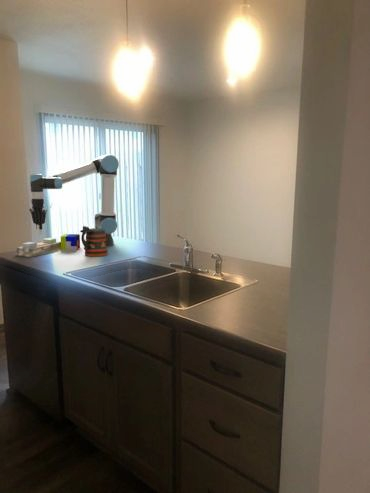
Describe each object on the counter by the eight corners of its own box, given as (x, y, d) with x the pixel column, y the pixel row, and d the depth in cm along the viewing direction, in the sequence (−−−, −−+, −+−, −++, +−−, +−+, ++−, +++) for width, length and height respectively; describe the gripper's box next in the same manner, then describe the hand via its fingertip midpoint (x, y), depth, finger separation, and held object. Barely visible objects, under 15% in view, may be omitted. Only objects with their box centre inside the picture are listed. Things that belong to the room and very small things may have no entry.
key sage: (56, 244, 262) (56, 238, 261) (50, 245, 257) (49, 239, 256) (49, 243, 264) (49, 237, 264) (43, 244, 259) (42, 239, 258)
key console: (61, 249, 263) (61, 242, 263) (31, 257, 238) (31, 249, 237) (48, 247, 268) (47, 240, 267) (17, 255, 243) (16, 247, 242)
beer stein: (92, 259, 235) (91, 227, 231) (75, 256, 242) (73, 225, 238) (112, 254, 251) (111, 224, 248) (95, 251, 258) (94, 222, 254)
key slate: (37, 248, 246) (36, 242, 245) (30, 250, 240) (29, 244, 240) (29, 248, 248) (29, 241, 247) (22, 249, 243) (22, 243, 242)
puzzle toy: (75, 251, 258) (75, 236, 256) (61, 250, 258) (60, 236, 256) (80, 248, 268) (79, 234, 266) (66, 248, 268) (65, 234, 266)
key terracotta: (47, 249, 254) (46, 243, 254) (40, 251, 249) (40, 245, 248) (40, 248, 257) (39, 242, 256) (33, 250, 251) (33, 244, 250)
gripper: (25, 198, 245) (27, 234, 250) (41, 199, 240) (43, 235, 245) (34, 197, 252) (36, 232, 257) (49, 198, 247) (51, 234, 252)
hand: (39, 234), depth 251 cm, fingers closed
